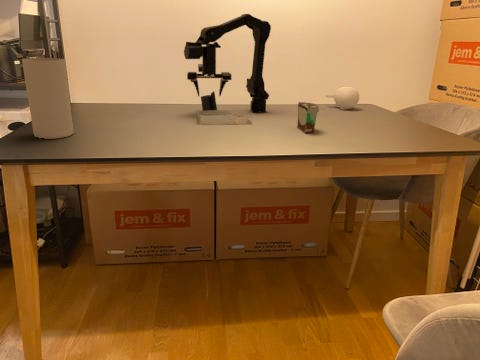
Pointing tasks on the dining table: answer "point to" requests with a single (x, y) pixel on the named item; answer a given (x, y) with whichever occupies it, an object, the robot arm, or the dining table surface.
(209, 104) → the speaker
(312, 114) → the food container
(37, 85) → the cylinder vase
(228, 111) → the beige shallow tray
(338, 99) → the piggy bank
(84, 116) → the dining table surface
